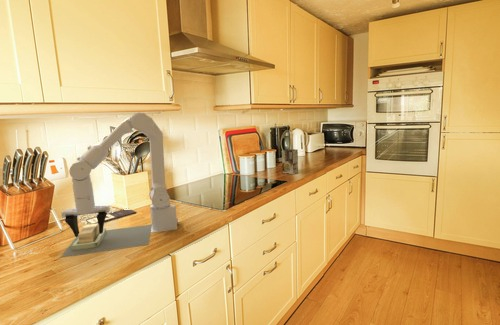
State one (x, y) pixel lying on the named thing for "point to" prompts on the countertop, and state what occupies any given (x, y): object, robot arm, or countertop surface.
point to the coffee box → (290, 161)
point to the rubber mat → (116, 240)
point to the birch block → (89, 233)
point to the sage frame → (88, 245)
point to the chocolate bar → (113, 216)
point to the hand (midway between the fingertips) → (89, 234)
